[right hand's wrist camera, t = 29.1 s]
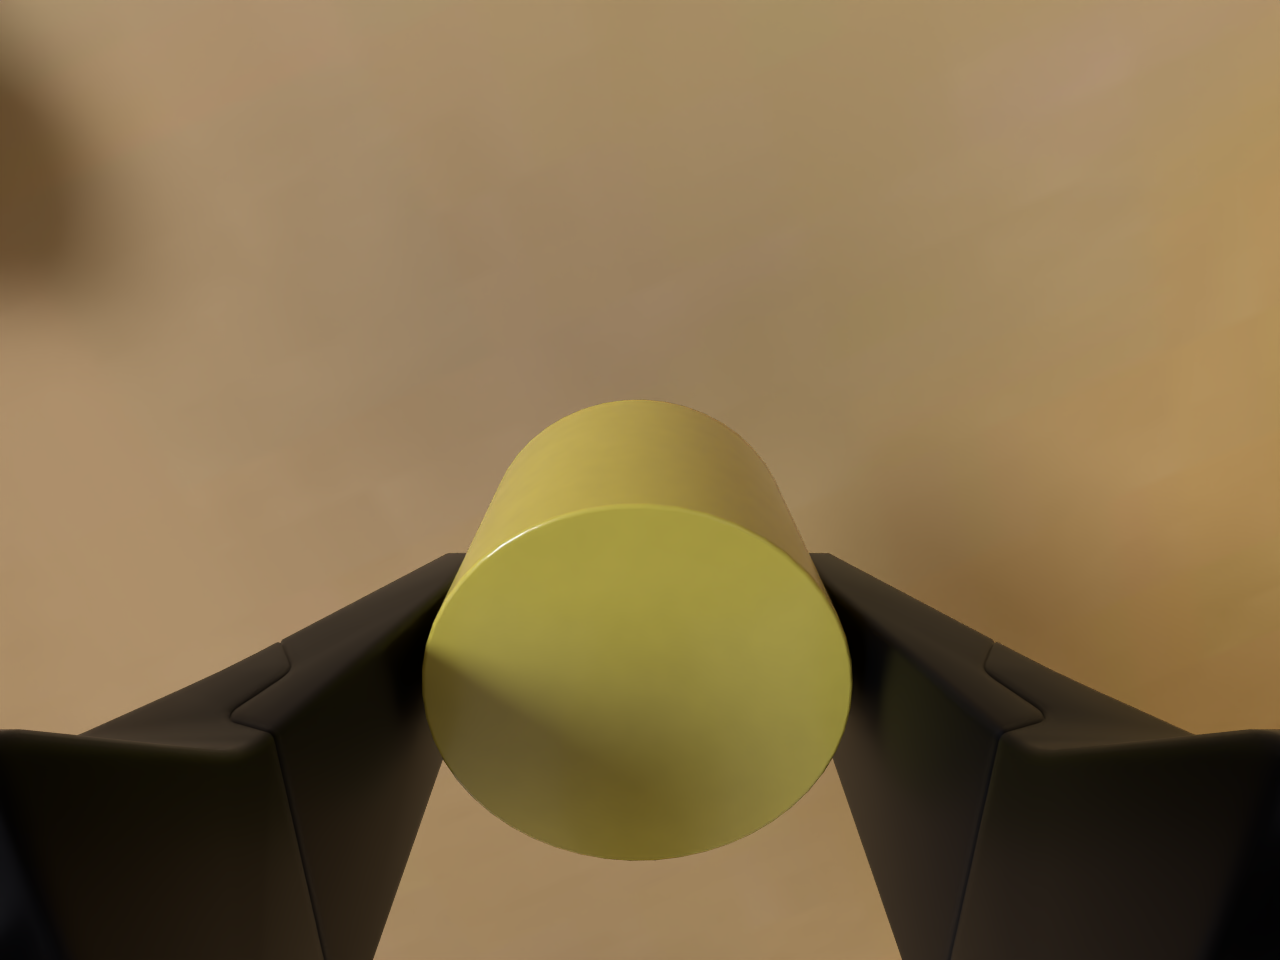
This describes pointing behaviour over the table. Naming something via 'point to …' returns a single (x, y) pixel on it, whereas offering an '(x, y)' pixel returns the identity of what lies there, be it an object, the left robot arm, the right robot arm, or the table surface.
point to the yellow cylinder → (637, 642)
